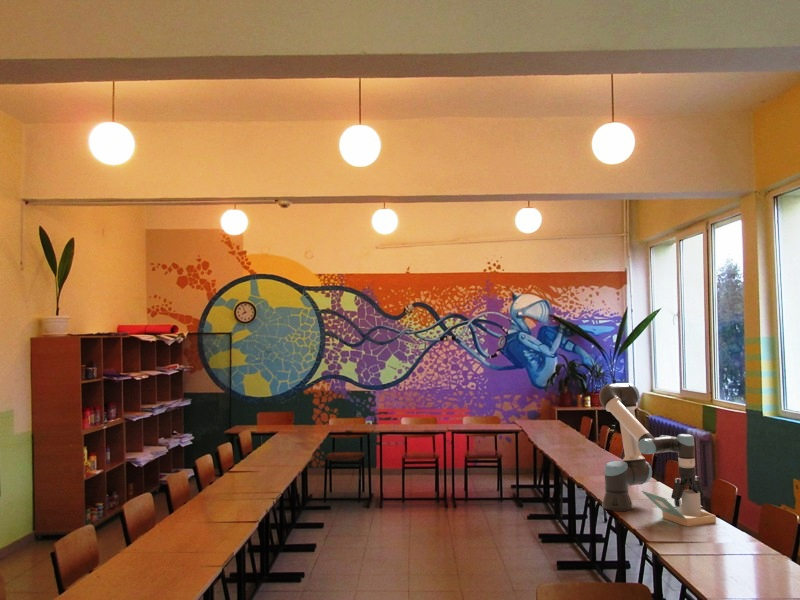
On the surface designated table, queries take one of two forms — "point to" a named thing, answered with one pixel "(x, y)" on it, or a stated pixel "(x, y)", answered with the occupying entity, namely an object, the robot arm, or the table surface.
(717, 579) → the table surface
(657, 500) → the lid
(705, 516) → the box
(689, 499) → the mug
